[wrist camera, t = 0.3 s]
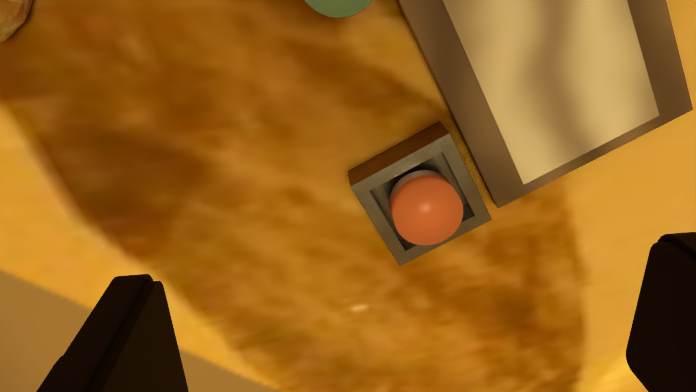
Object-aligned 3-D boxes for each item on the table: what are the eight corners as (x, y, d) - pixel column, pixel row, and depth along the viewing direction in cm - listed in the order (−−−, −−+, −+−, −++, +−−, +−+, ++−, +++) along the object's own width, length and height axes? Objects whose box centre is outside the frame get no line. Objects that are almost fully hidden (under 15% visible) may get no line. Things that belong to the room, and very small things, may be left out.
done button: (437, 158, 36) (445, 170, 34) (464, 210, 38) (474, 225, 36) (377, 190, 37) (381, 204, 34) (406, 240, 39) (412, 256, 36)
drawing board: (614, -155, 31) (628, -160, 29) (682, 105, 38) (694, 110, 37) (388, -18, 33) (391, -17, 32) (493, 201, 40) (499, 209, 39)
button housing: (439, 121, 37) (449, 133, 35) (479, 202, 40) (491, 219, 38) (347, 171, 38) (350, 186, 36) (393, 246, 42) (399, 266, 39)
